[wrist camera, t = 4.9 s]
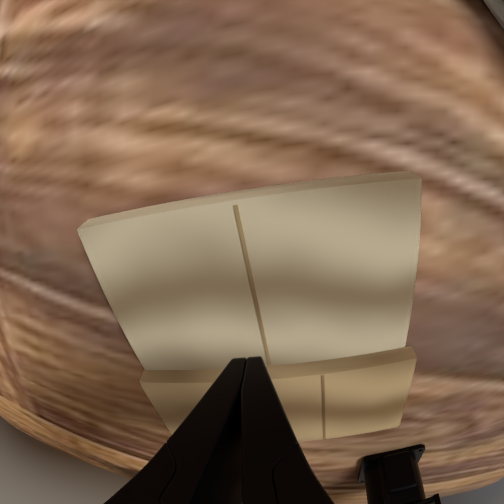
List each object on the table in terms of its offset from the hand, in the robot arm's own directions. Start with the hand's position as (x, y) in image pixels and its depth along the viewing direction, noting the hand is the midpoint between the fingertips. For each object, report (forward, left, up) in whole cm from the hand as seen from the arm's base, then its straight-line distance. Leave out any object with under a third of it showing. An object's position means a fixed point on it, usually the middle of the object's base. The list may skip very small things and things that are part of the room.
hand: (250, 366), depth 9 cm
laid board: (-12, +1, -8) cm, 15 cm away
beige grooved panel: (-2, +1, -8) cm, 8 cm away
